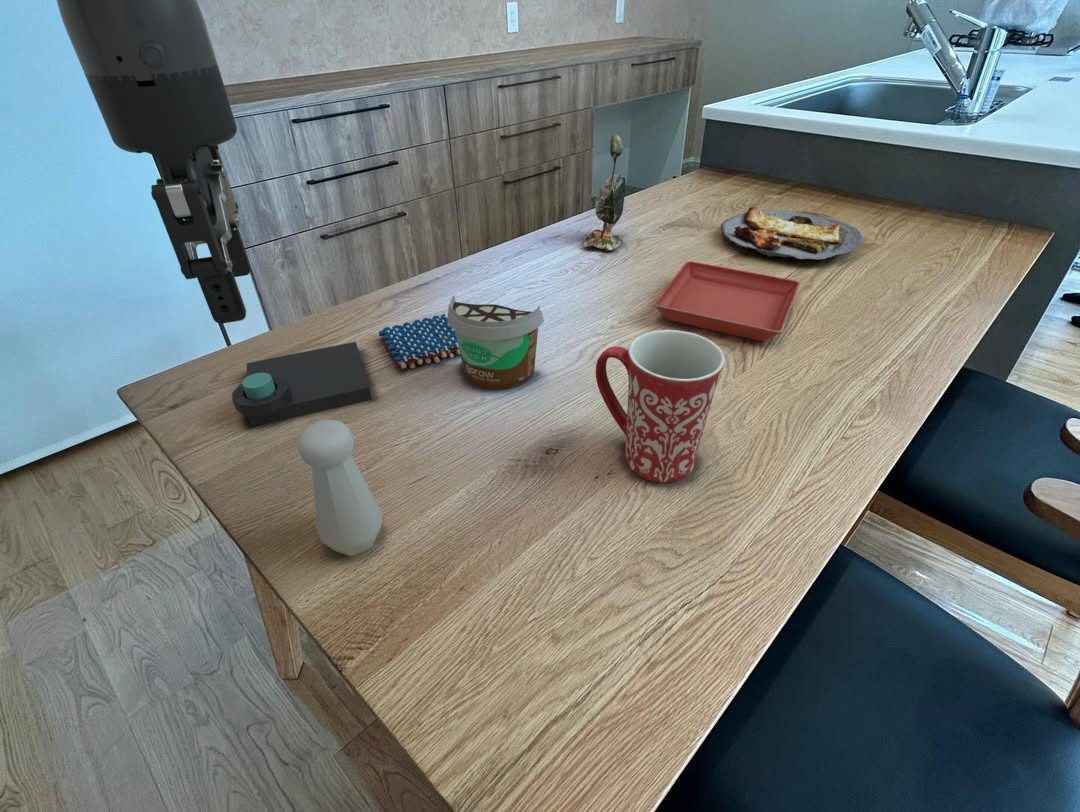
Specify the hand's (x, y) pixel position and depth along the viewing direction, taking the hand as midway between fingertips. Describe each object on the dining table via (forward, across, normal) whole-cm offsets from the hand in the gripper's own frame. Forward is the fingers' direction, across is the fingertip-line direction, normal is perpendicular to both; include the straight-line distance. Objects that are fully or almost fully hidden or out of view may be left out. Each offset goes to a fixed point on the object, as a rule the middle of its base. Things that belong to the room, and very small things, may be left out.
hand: (235, 296), depth 47 cm
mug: (+22, +7, +35) cm, 42 cm away
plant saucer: (+22, -18, +62) cm, 69 cm away
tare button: (+19, -16, -4) cm, 25 cm away
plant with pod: (+22, -51, +57) cm, 80 cm away
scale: (+22, -20, +1) cm, 30 cm away
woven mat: (+22, -24, +17) cm, 37 cm away
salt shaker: (+22, +8, +4) cm, 24 cm away
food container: (+22, -13, +23) cm, 35 cm away
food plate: (+22, -38, +89) cm, 100 cm away
